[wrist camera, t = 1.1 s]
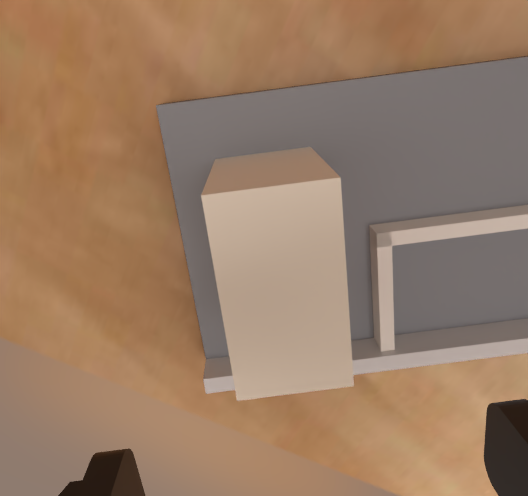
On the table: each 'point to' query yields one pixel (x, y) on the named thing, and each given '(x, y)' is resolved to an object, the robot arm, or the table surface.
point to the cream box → (280, 271)
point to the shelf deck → (386, 204)
